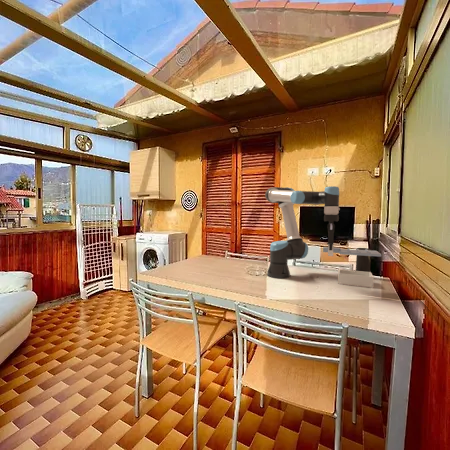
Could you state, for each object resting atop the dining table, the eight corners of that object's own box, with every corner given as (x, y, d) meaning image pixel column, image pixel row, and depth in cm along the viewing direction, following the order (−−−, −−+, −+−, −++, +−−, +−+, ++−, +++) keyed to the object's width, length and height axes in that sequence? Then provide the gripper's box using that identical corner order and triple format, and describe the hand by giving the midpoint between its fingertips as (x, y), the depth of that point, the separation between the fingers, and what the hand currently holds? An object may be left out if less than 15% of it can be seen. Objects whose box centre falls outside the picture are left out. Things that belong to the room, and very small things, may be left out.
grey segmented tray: (322, 253, 136) (323, 248, 136) (323, 250, 148) (323, 246, 148) (381, 256, 126) (381, 251, 125) (376, 252, 138) (376, 248, 138)
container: (372, 279, 159) (373, 249, 158) (357, 279, 161) (358, 248, 160) (367, 276, 168) (368, 247, 167) (353, 275, 170) (354, 246, 168)
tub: (338, 285, 148) (338, 273, 147) (337, 280, 159) (338, 269, 158) (373, 289, 140) (373, 276, 140) (370, 283, 151) (370, 272, 151)
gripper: (339, 214, 130) (338, 258, 131) (337, 214, 146) (337, 253, 147) (324, 214, 133) (323, 257, 134) (324, 214, 149) (323, 252, 150)
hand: (330, 255), depth 141 cm, fingers closed on grey segmented tray, 4 cm apart
